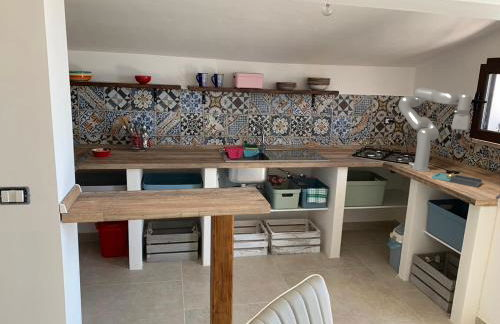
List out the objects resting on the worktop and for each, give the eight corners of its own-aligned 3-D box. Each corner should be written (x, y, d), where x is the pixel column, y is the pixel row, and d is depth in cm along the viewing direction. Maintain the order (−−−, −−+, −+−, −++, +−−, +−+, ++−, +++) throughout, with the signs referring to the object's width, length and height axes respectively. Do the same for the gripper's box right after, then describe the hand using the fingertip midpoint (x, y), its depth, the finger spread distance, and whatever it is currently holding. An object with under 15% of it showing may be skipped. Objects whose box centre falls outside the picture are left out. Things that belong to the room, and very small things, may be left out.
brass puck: (446, 179, 259) (445, 175, 259) (448, 178, 263) (446, 174, 263) (454, 177, 256) (453, 173, 256) (455, 176, 260) (454, 172, 260)
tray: (431, 178, 262) (431, 175, 262) (438, 175, 272) (438, 172, 272) (449, 182, 255) (449, 179, 254) (455, 178, 265) (456, 176, 264)
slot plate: (449, 182, 255) (450, 177, 254) (456, 178, 265) (456, 174, 264) (476, 187, 244) (477, 182, 243) (481, 183, 254) (482, 179, 253)
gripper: (449, 112, 260) (445, 138, 264) (473, 114, 250) (468, 141, 254) (452, 111, 266) (448, 137, 270) (476, 113, 256) (471, 140, 260)
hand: (458, 139), depth 262 cm, fingers closed
